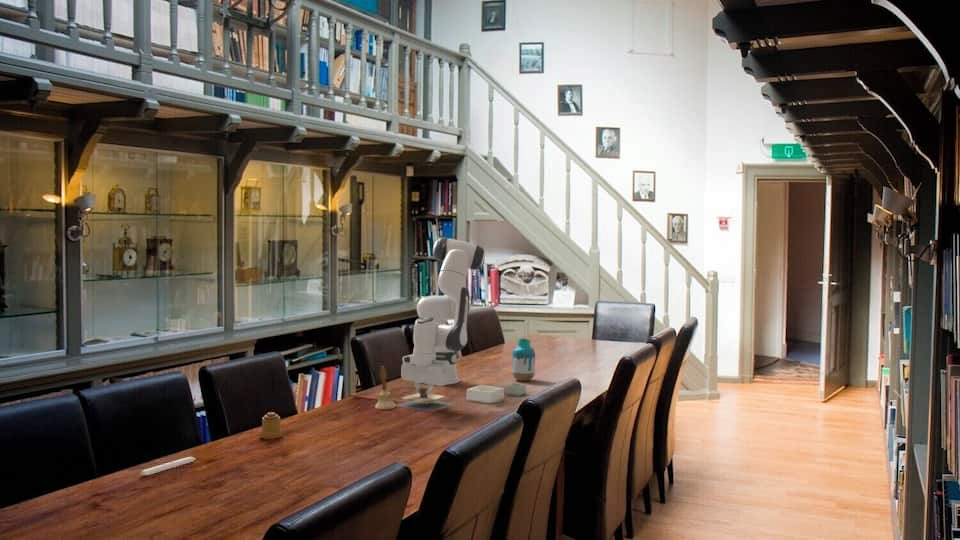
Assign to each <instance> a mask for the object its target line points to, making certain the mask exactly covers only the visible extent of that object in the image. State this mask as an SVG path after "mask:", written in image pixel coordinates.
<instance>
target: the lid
mask: <svg viewBox="0 0 960 540" xmlns="http://www.w3.org/2000/svg"><path fill="white" fill-rule="evenodd" d="M425 390H428V387H420V394H419V393H417V392H416V393H413V394H409V395H405V396H403V397H401V400H402V401H403V400H404V401H407V402H409V401H413V402H419V403H424V404H428V403H432V402H435V401H438V402H439V401H441V400H444V399H446V396H445V395H440V394H433V393H431V395H426V394H425Z"/></svg>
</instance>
